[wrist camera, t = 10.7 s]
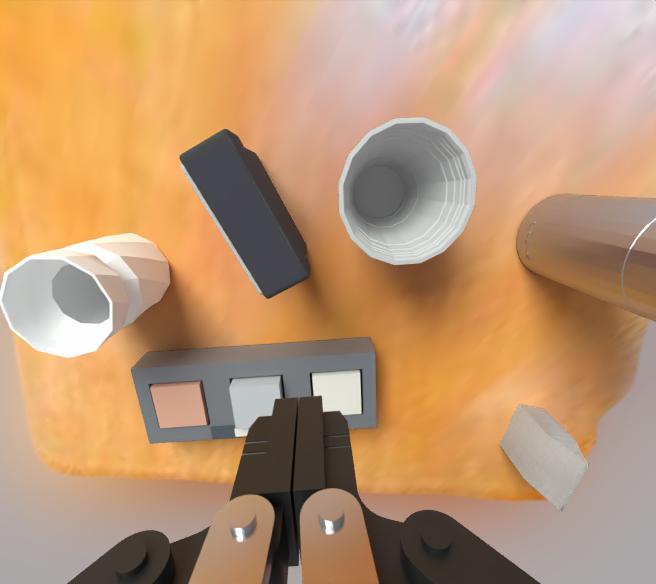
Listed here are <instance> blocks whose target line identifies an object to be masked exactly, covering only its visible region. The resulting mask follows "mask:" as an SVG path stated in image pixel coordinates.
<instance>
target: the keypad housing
mask: <svg viewBox="0 0 656 584" xmlns="http://www.w3.org/2000/svg"><path fill="white" fill-rule="evenodd" d="M356 369H359V370H360V383H361V414H351V415H343V416H344V417H345V418H346V420H347V421H348V428H349V429H357V428H371V427H377V422H376V362H375V350H374V347H373V344H372V342H371V339H370V337H362V338H347V339H332V340H318V341H303V342H288V343H274V344H259V345H244V346H230V347H215V348H200V349H186V350H171V351H156V352H147V353H146V354H145V355H144V356H143V357H142V358H141V359H140V360H139V361H138V362H137V363H136V364H135V365H134V366H133V367H132V368H131V373H132V376H133V380H134V384H135V388H136V392H137V396H138V400H139V403H140V407H141V411H142V415H143V419H144V423H145V427H146V431H147V434H148V438H149V442H150V444H153V443H166V442H180V441H194V440H207V439H226V438H239V437H247V434H248V430H249V429H236V427H235V421H234V415H233V409H232V403H231V397H230V391H229V387H230V385H231V382H232V380H233V378H241V377H255V376H270V375H282V379H283V389H284V398H295V397H298V399H299V398H300V397H308V396H314V393H313V381H312V373H313V372H327V371H341V370H356ZM198 380H202V381H203V387H204V392H205V397H206V402H207V408H208V413H209V418H210V419H209V421H208V424H207V425H200V426H186V427H173V428H160V426H159V422H158V418H157V414H156V410H155V406H154V402H153V398H152V393H151V389H150V387H151V386H152V385H153V384H155V383H170V382H184V381H198Z"/></svg>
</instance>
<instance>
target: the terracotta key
mask: <svg viewBox="0 0 656 584" xmlns="http://www.w3.org/2000/svg"><path fill="white" fill-rule="evenodd" d="M150 389H151V393H152V398H153V402H154V406H155V410H156V414H157V418H158V422H159V426H160V428H173V427H186V426H200V425H207V424H208V421H209V419H210V418H209V413H208V408H207V402H206V397H205V392H204V387H203V381H202V380H198V381H184V382H170V383H155V384H153V385H152V386H151V387H150Z"/></svg>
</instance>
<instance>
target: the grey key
mask: <svg viewBox="0 0 656 584" xmlns="http://www.w3.org/2000/svg"><path fill="white" fill-rule="evenodd" d="M229 391H230V397H231V403H232V409H233V415H234V421H235V427H236V429H249V428H250V427H251V425H252V424H253V423H254V422H255V420H256V419H257V418H258V417H260V416H272V412H273V407H274V401H275V399H281V398H284V389H283V379H282V375H270V376H255V377H241V378H233V380H232V382H231V385H230V387H229Z"/></svg>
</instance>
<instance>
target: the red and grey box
mask: <svg viewBox="0 0 656 584" xmlns="http://www.w3.org/2000/svg"><path fill="white" fill-rule="evenodd" d="M180 160H181V162H182V165H181V169H182V170H183V172H184V174H185V175H186V177H187V179H188V180H189V182H190V183H191V185H192V187H193V188H194V190H195V191H196V193H197V195H198V196H199V198H200V199H201V201H202V203H203V204H204V206H205V207H206V209H207V211H208V212H209V214H210V216H211V217H212V219H213V220H214V222H215V224H216V225H217V227H218V228H219V230H220V232H221V233H222V235H223V236H224V238H225V240H226V241H227V243H228V244H229V246H230V248H231V249H232V251H233V252H234V254H235V256H236V257H237V259H238V260H239V262H240V264H241V265H242V267H243V269H244V270H245V272H246V273H247V275H248V277H249V278H250V280H251V281H252V283H253V285H254V286H255V288H256V289H257V291H258V292H259V294H263V295H264V296H265V297H266V298H267V299H269V298H271V297H273V296H275V295H277V294H279V293H281V292H283V291H285V290H287V289H288V288H290V287H292V286H294V285H296V284H298V283H300V282H302V281H304V280H306V279H307V278H309V276H310V265H309V263H308V261H307V259H306V257H305V253H306V244H305V242H304V240H303V238H302V236H301V234H300V233H299V231H298V229H297V227H296V225H295V224H294V222H293V220H292V218H291V216H290V214H289V213H288V211H287V209H286V207H285V205H284V204H283V202H282V200H281V198H280V196H279V194H278V193H277V191H276V189H275V187H274V185H273V184H272V182H271V180H270V178H269V176H268V174H267V173H266V171H265V169H264V167H263V165H262V164H261V162H260V160H259V158H258V156H257V155H256V153H254V152H252V151H250V150H248V149H246V148H245V147H244V146H243V144H242V143H241V141H240V139H239V137H238V136H237V135H235V134H234V133H232V132H231V131H229V130H227V129H223V130H222V131H220V132H218V133H216V134H215V135H213V136H211V137H210V138H208V139H206V140H205V141H203V142H201V143H200V144H198V145H196V146H194V147H193V148H191V149H189V150H188V151H186V152H184V153H183V154H181V155H180Z"/></svg>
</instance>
